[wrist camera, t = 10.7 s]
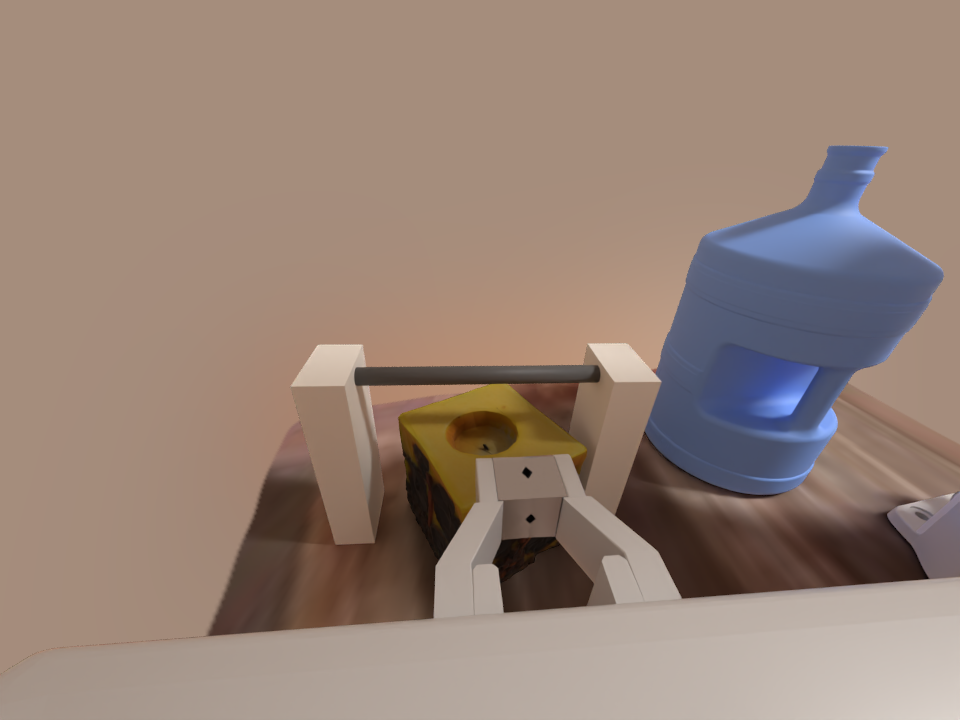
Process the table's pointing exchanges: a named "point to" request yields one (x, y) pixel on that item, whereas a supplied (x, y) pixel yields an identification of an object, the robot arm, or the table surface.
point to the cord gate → (347, 403)
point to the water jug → (783, 332)
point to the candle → (452, 461)
